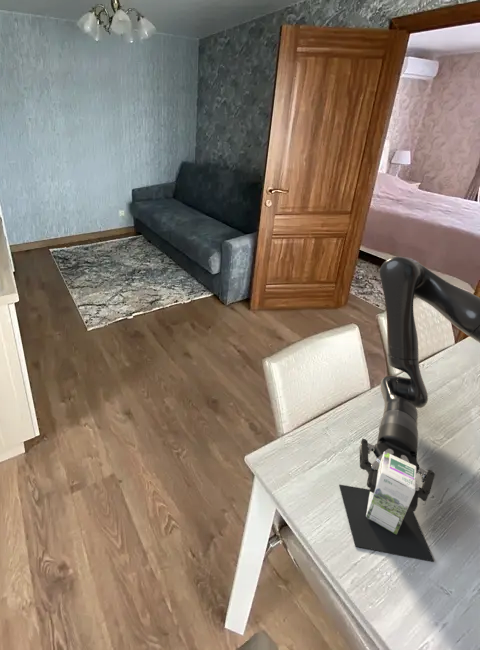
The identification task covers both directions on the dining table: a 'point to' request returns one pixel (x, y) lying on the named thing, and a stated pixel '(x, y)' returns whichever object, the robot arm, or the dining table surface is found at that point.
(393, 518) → the syrup box
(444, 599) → the dining table surface
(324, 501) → the dining table surface
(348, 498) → the plate
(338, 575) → the dining table surface
